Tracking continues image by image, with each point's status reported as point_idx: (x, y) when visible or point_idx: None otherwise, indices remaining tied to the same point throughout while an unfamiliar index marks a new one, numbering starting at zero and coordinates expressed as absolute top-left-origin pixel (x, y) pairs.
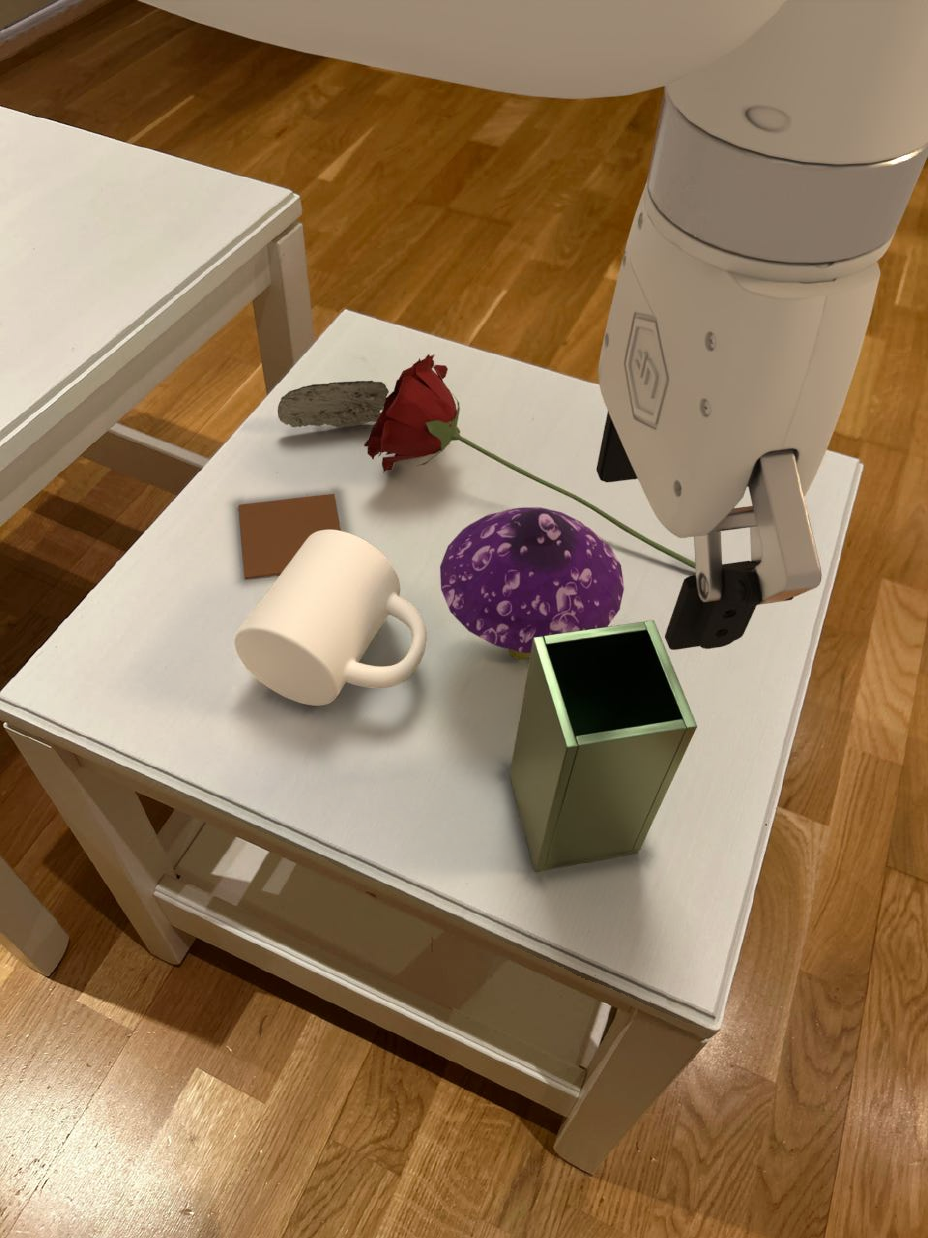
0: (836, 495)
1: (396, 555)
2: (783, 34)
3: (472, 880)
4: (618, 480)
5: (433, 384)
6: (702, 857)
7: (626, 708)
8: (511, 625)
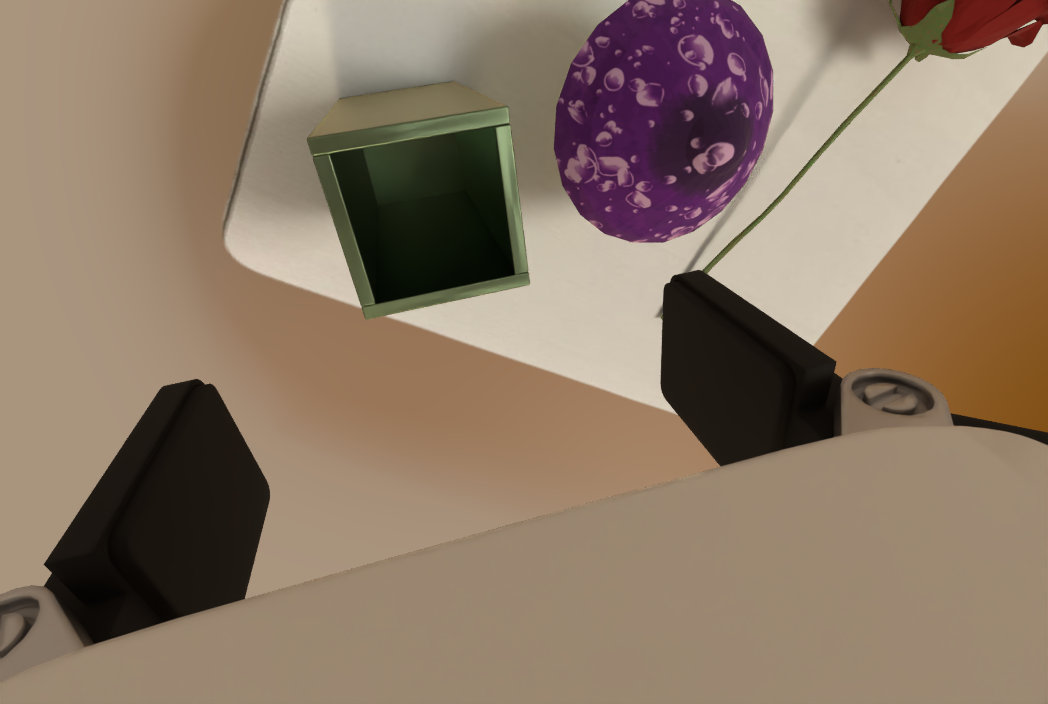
0: None
1: None
2: None
3: (320, 18)
4: (664, 312)
5: (1014, 13)
6: None
7: (475, 226)
8: (591, 89)
